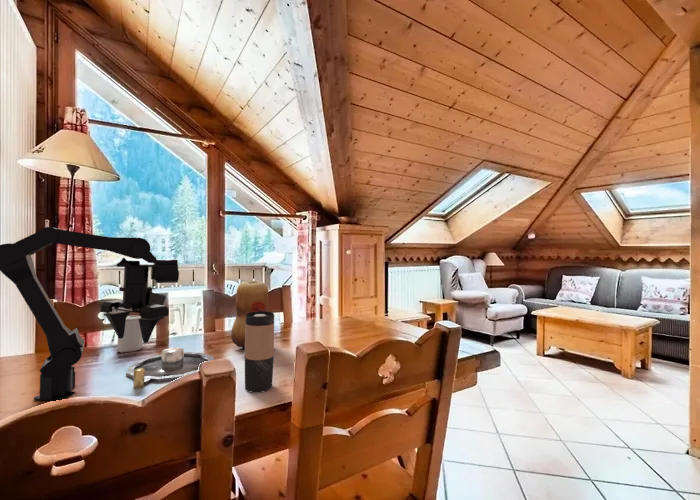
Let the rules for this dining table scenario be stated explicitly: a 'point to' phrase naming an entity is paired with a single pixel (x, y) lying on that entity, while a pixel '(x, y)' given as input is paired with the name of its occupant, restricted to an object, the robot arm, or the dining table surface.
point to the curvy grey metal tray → (152, 371)
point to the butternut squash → (248, 307)
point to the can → (131, 335)
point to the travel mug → (259, 351)
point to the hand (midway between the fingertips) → (133, 340)
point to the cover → (172, 359)
